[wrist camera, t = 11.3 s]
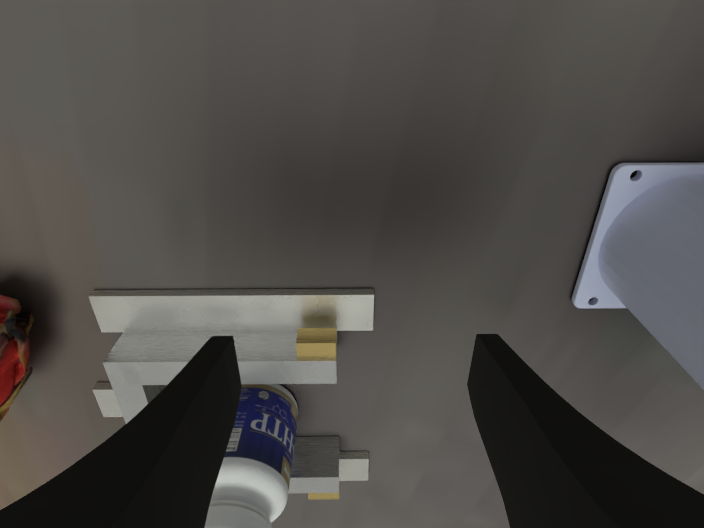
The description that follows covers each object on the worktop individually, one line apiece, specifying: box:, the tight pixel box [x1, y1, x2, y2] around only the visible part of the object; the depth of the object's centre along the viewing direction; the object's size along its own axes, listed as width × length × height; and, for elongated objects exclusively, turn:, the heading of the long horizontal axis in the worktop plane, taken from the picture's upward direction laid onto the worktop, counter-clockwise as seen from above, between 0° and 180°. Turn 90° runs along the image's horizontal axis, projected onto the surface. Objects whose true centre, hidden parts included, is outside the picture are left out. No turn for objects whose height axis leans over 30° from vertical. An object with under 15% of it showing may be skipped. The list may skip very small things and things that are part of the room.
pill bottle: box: [205, 384, 298, 528], centre depth 24 cm, size 5×5×9 cm
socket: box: [88, 289, 374, 499], centre depth 26 cm, size 17×16×3 cm
